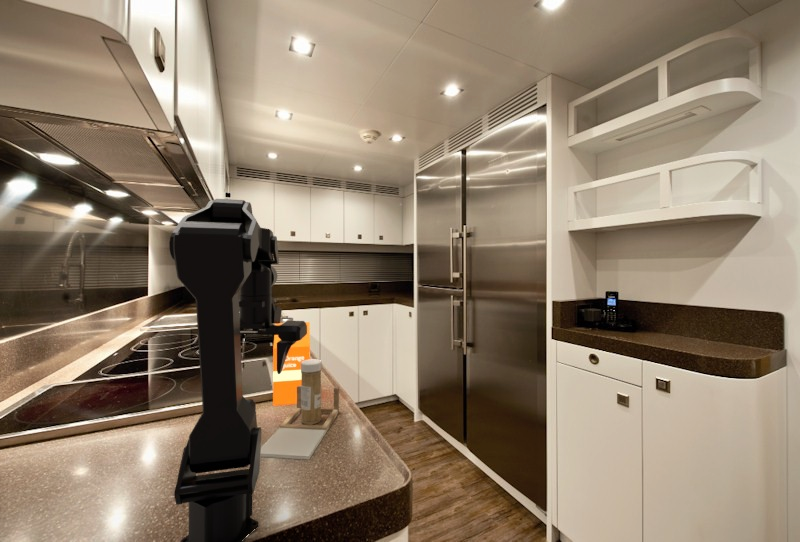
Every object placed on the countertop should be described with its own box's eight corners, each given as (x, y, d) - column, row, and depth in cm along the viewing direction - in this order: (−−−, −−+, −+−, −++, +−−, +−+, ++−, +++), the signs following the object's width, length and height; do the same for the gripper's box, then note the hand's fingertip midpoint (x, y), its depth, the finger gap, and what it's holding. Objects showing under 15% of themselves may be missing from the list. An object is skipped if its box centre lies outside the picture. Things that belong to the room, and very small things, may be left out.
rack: (325, 432, 68) (325, 404, 68) (279, 430, 68) (279, 402, 68) (338, 412, 78) (339, 387, 78) (298, 410, 78) (298, 385, 78)
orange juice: (276, 394, 88) (276, 321, 88) (310, 391, 91) (310, 319, 91) (272, 406, 81) (273, 325, 81) (309, 402, 83) (309, 324, 83)
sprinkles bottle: (324, 422, 72) (324, 361, 72) (304, 427, 70) (304, 365, 70) (317, 414, 76) (317, 357, 76) (297, 419, 74) (298, 360, 74)
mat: (309, 459, 58) (309, 456, 58) (255, 456, 59) (255, 453, 59) (326, 431, 68) (326, 429, 68) (280, 429, 69) (280, 426, 69)
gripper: (314, 290, 72) (313, 360, 72) (228, 289, 71) (229, 359, 72) (299, 297, 60) (298, 379, 61) (197, 295, 60) (198, 378, 61)
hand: (256, 373), depth 64 cm, fingers open, 9 cm apart
